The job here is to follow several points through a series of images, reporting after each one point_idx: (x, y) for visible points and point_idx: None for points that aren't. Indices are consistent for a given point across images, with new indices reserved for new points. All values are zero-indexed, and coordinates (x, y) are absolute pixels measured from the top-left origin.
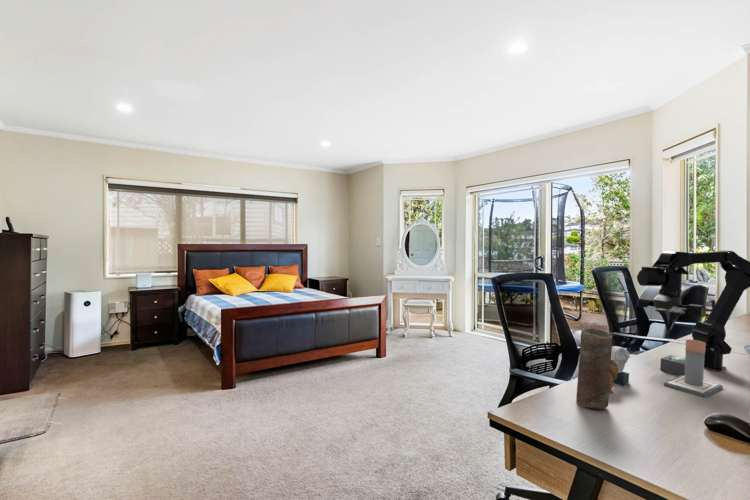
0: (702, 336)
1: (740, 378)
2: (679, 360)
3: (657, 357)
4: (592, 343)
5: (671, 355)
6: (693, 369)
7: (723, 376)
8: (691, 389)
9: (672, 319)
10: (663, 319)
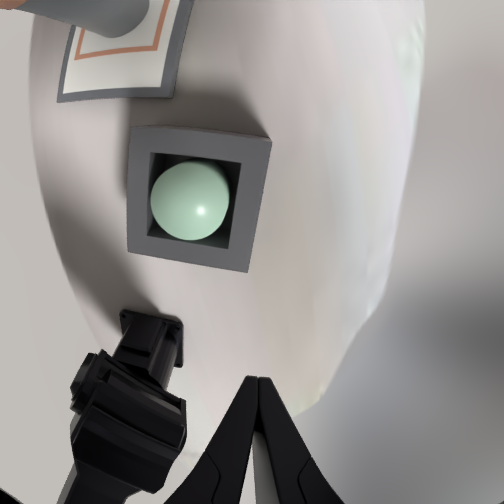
0: (124, 412)
1: (72, 279)
2: (180, 165)
3: (309, 334)
4: None
5: (242, 267)
6: None
7: (96, 261)
8: None
9: (202, 482)
10: (315, 469)
